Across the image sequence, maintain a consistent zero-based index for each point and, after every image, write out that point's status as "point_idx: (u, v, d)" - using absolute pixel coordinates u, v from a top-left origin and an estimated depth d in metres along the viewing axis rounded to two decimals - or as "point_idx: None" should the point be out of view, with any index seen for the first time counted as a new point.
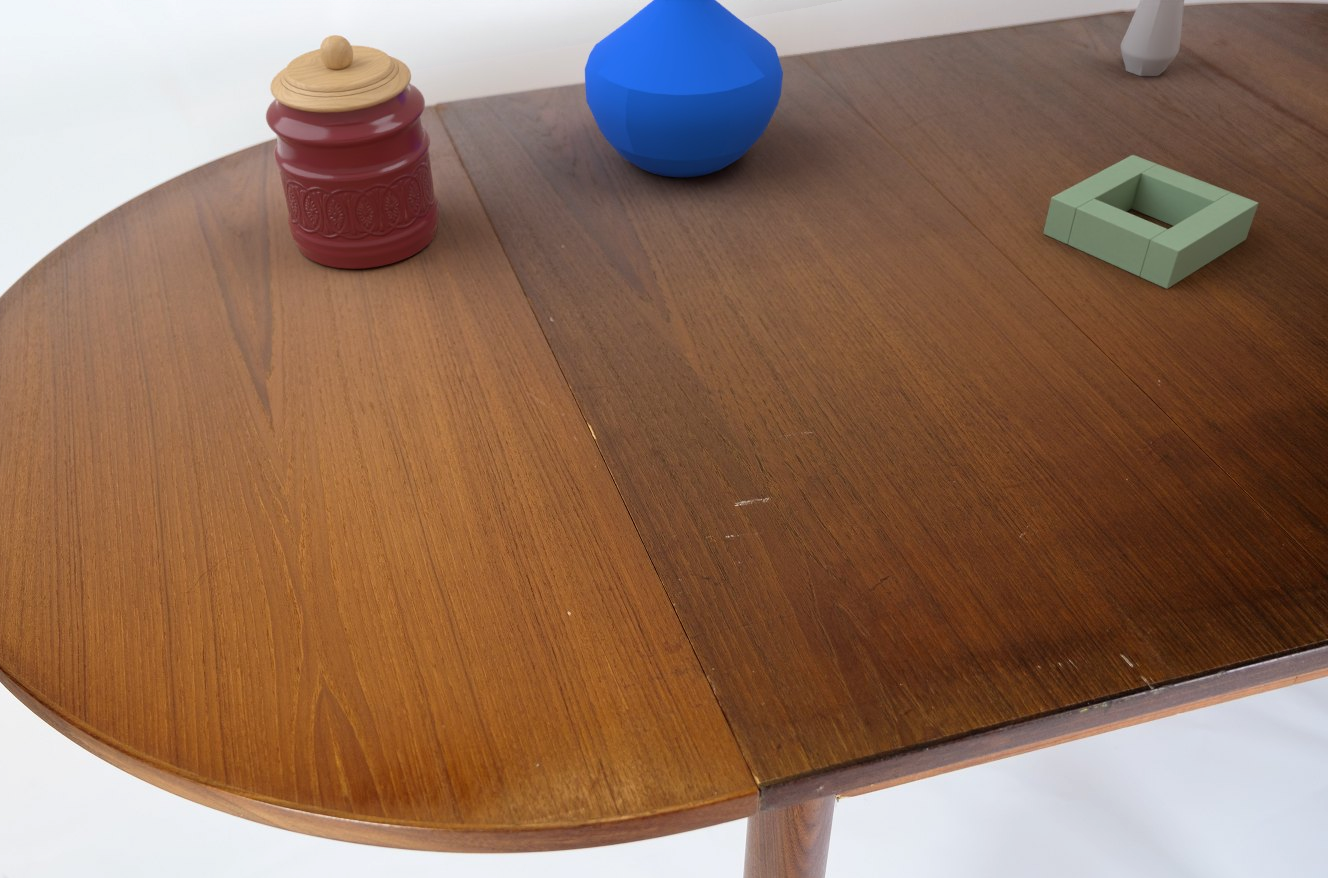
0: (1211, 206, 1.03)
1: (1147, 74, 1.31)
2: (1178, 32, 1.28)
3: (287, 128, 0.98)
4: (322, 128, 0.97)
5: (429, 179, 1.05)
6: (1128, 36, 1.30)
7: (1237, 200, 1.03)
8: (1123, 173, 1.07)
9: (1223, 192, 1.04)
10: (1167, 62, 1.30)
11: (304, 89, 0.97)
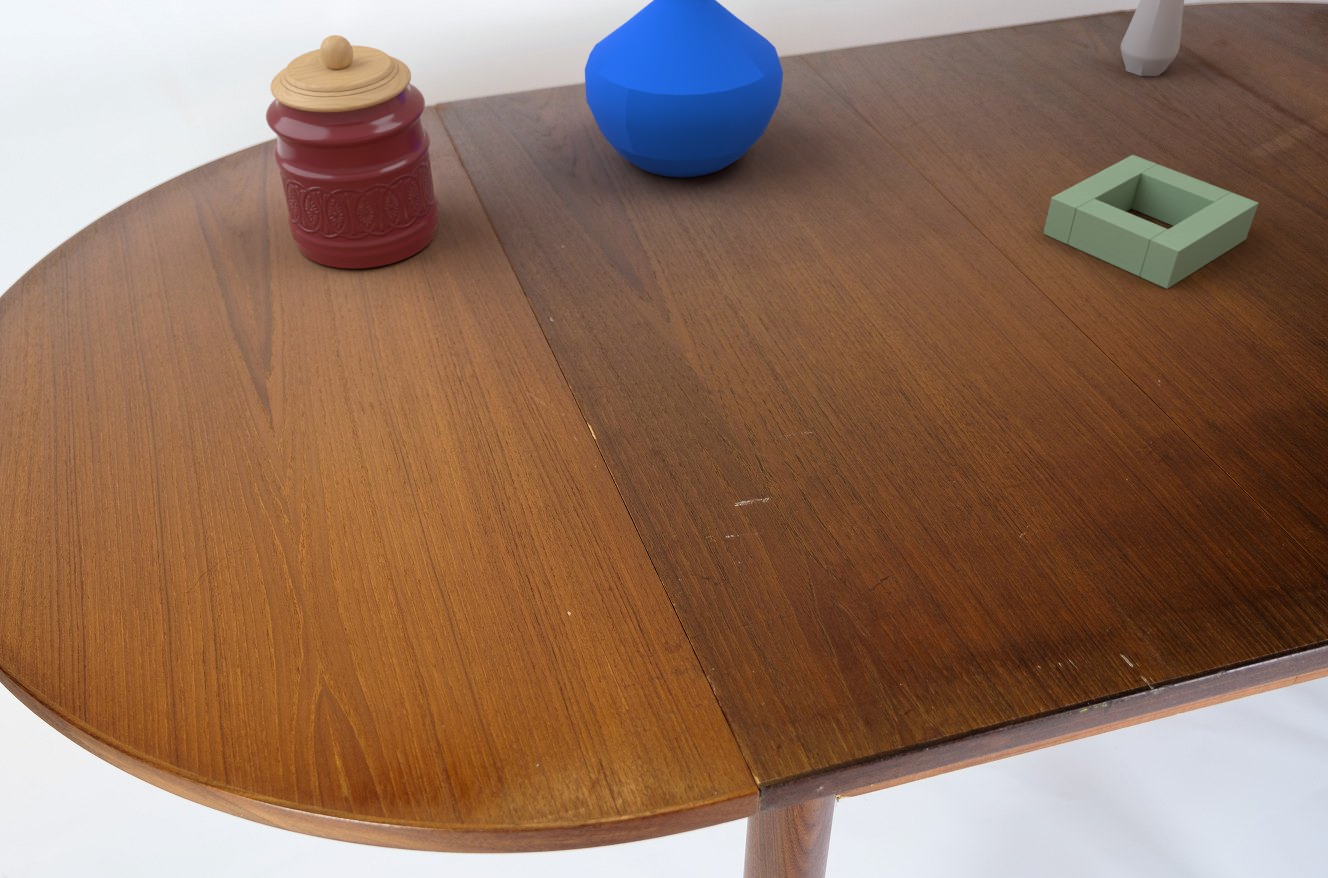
0: (1211, 206, 1.03)
1: (1147, 74, 1.31)
2: (1178, 32, 1.28)
3: (287, 128, 0.98)
4: (322, 128, 0.97)
5: (429, 179, 1.05)
6: (1128, 36, 1.30)
7: (1237, 200, 1.03)
8: (1123, 173, 1.07)
9: (1223, 192, 1.04)
10: (1167, 62, 1.30)
11: (304, 89, 0.97)
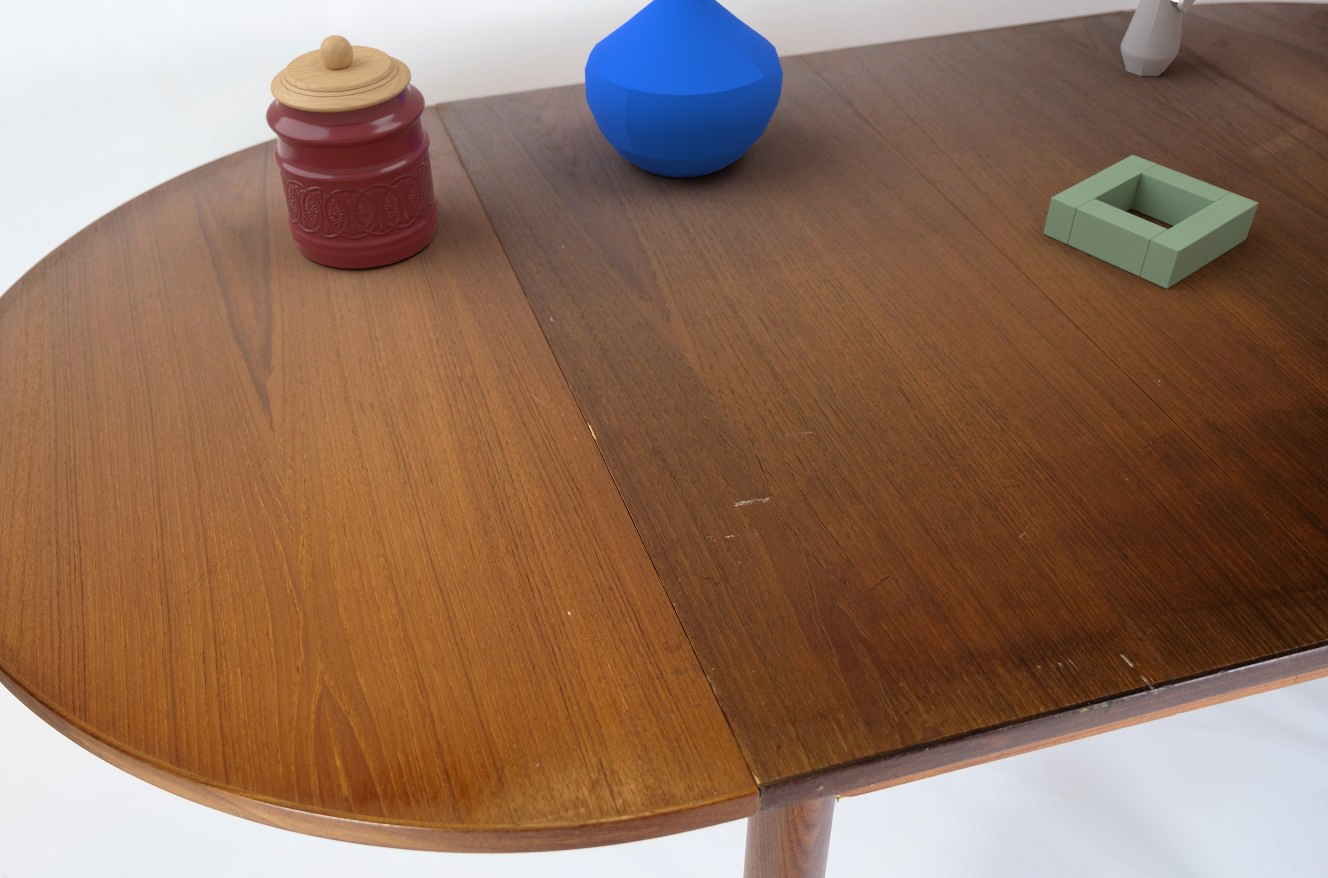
0: (1211, 206, 1.03)
1: (1147, 74, 1.31)
2: (1178, 32, 1.28)
3: (287, 128, 0.98)
4: (322, 128, 0.97)
5: (429, 179, 1.05)
6: (1128, 36, 1.30)
7: (1237, 200, 1.03)
8: (1123, 173, 1.07)
9: (1223, 192, 1.04)
10: (1167, 62, 1.30)
11: (304, 89, 0.97)
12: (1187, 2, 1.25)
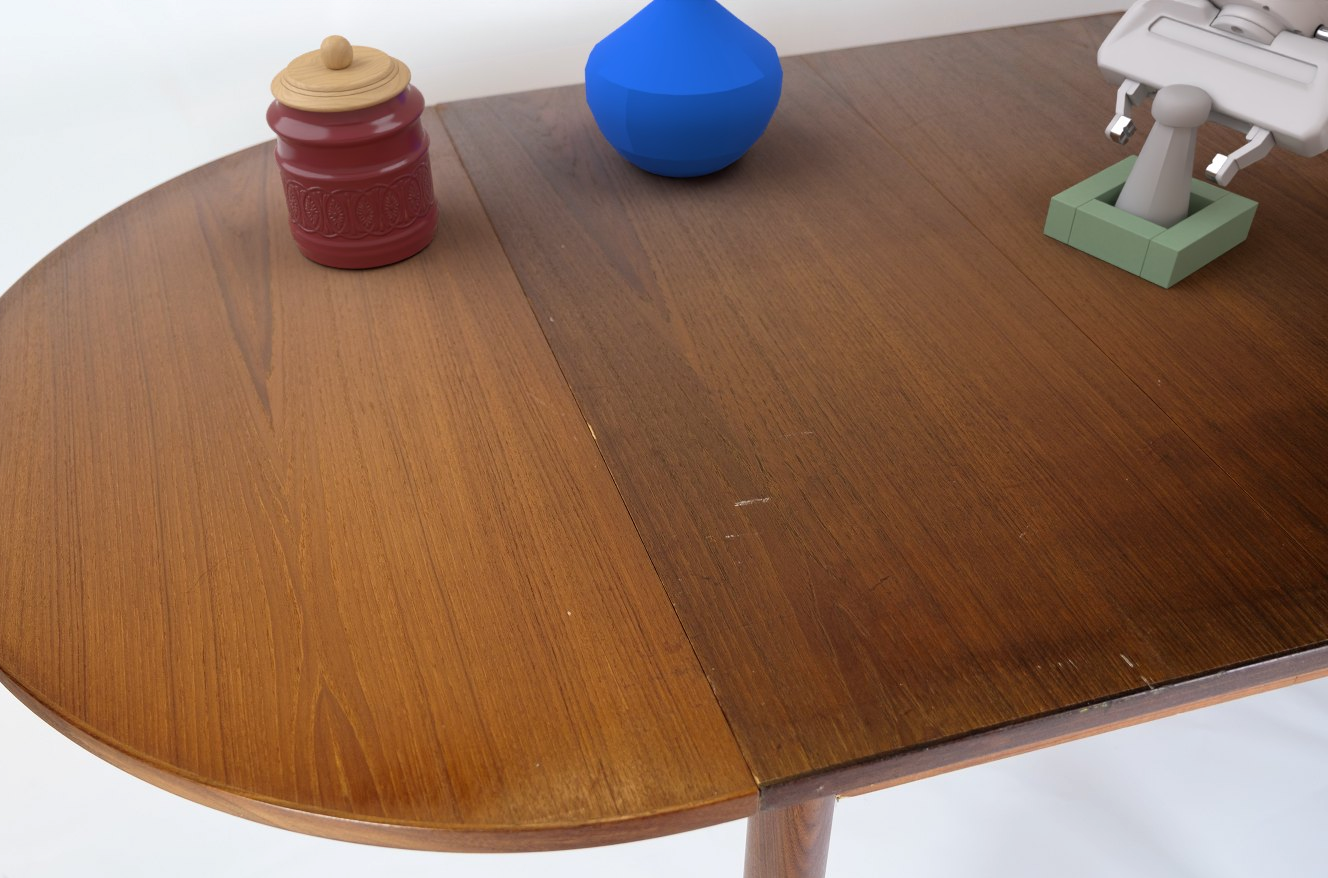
0: (1211, 206, 1.03)
1: None
2: (1186, 197, 1.02)
3: (287, 128, 0.98)
4: (322, 128, 0.97)
5: (429, 179, 1.05)
6: (1124, 200, 1.03)
7: (1237, 200, 1.03)
8: (1123, 173, 1.07)
9: (1223, 192, 1.04)
10: None
11: (304, 89, 0.97)
12: (1228, 174, 0.97)
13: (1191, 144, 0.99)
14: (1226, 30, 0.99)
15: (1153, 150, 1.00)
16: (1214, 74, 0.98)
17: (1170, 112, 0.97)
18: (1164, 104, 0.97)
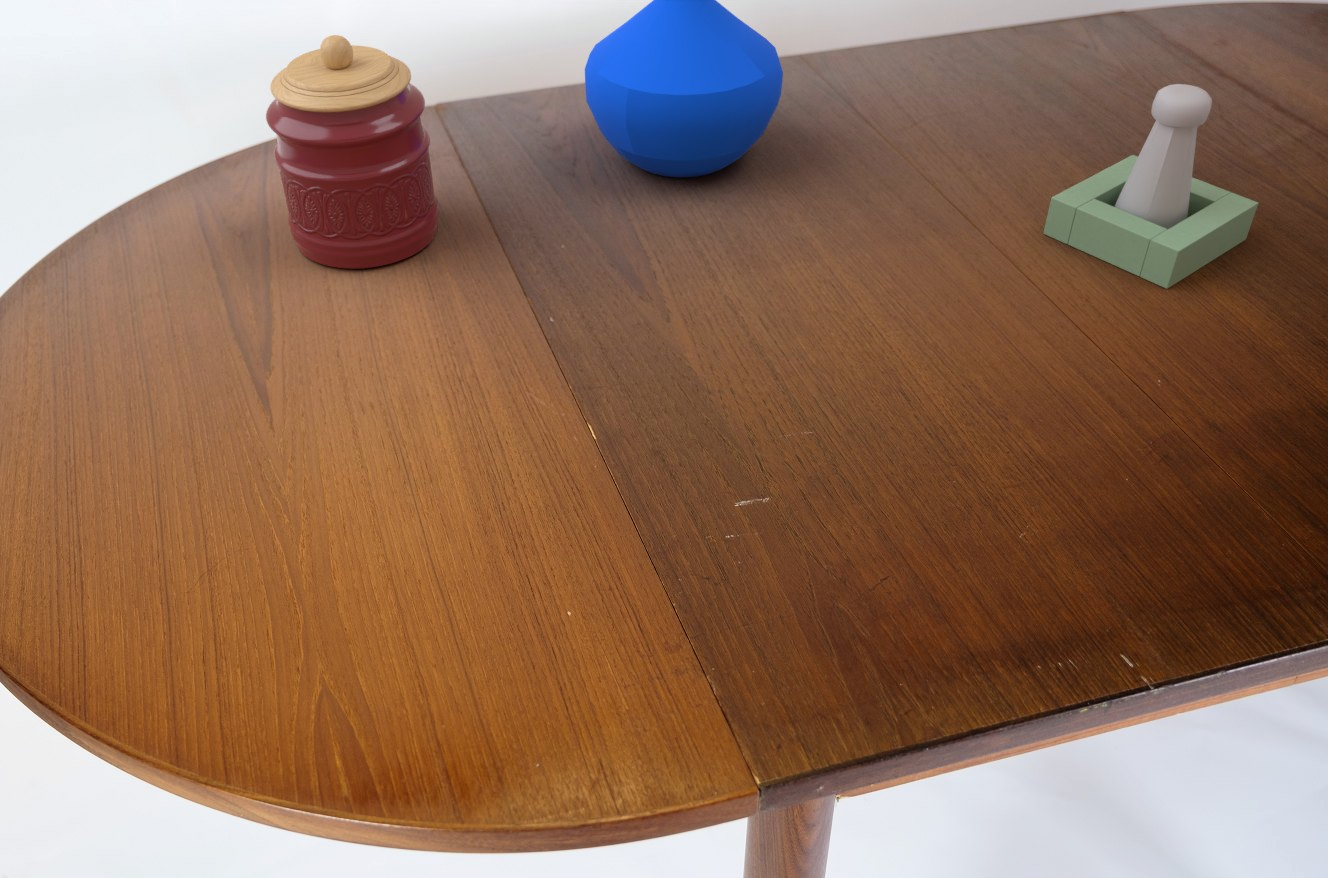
0: (1211, 206, 1.03)
1: None
2: (1186, 197, 1.02)
3: (287, 128, 0.98)
4: (322, 128, 0.97)
5: (429, 179, 1.05)
6: (1124, 200, 1.03)
7: (1237, 200, 1.03)
8: (1123, 173, 1.07)
9: (1223, 192, 1.04)
10: None
11: (304, 89, 0.97)
12: None
13: (1191, 144, 0.99)
14: None
15: (1153, 150, 1.00)
16: None
17: (1170, 112, 0.97)
18: (1164, 104, 0.97)
